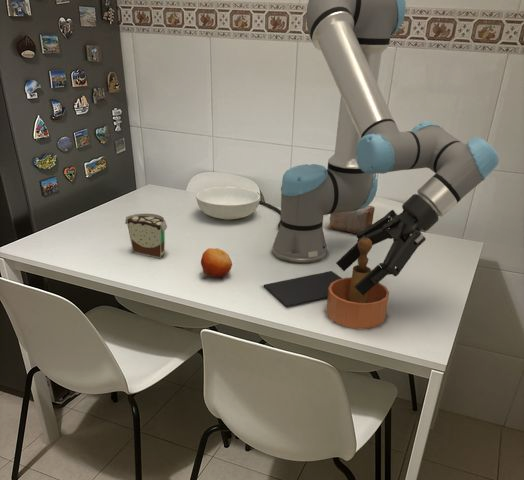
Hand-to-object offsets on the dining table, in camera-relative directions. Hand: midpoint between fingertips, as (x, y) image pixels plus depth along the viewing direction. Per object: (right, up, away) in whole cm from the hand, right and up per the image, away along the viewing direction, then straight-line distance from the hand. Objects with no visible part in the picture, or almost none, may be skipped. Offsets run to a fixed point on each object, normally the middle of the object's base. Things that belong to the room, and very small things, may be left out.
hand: (348, 278), depth 113 cm
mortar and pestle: (+2, -7, +5) cm, 10 cm away
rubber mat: (-7, 0, +15) cm, 17 cm away
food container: (-50, +12, +33) cm, 61 cm away
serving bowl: (-30, +29, +60) cm, 73 cm away
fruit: (-31, +4, +21) cm, 37 cm away
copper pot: (+2, -7, +5) cm, 9 cm away
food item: (+9, +22, +51) cm, 57 cm away
